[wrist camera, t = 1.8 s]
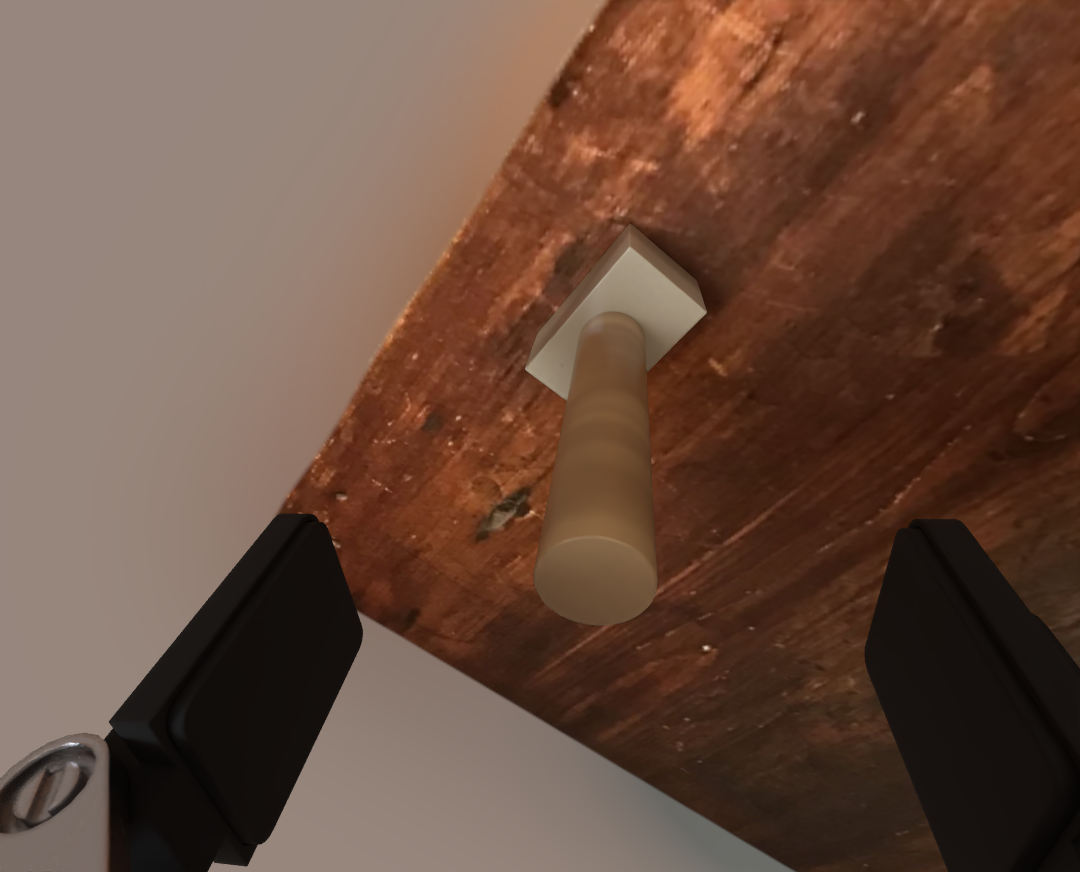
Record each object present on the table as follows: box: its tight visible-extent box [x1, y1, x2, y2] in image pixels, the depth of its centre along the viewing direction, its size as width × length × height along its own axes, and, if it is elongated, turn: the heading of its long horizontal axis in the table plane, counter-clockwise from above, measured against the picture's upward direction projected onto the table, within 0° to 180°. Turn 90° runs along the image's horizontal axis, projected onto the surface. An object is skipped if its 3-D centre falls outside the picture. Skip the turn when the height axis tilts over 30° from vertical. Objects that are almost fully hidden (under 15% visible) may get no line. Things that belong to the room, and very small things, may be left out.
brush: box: [525, 224, 707, 625], centre depth 15 cm, size 5×3×13 cm, turn 143°
